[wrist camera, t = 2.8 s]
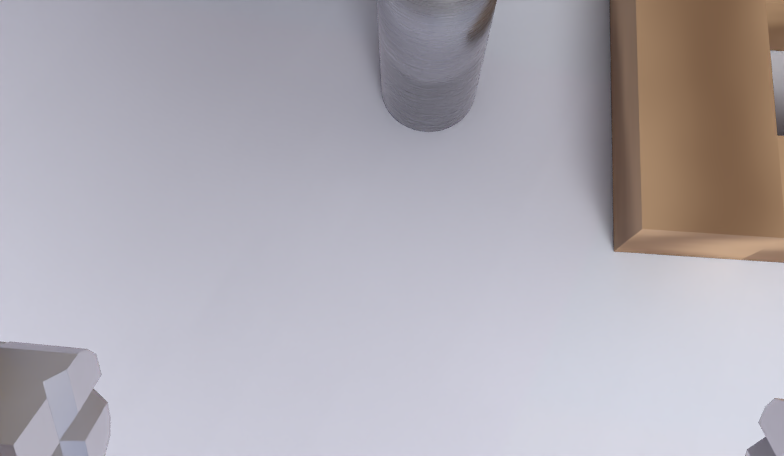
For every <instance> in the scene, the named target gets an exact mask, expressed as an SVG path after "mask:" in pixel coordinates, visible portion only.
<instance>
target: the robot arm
mask: <svg viewBox="0 0 784 456" xmlns="http://www.w3.org/2000/svg"><path fill="white" fill-rule="evenodd" d="M101 375H102V374H101V370H100V367H99V363H98V359H97V355H96V353H94V352H92V351H90V350H88V349H82V348H72V347H61V346H51V345H40V344H30V343H19V342H0V456H105V454H106V450H107V446H108V442H109V438H110V412H109V407H108V402H107V401H106V400H105V399H104V398H103V397H102V396H101V395H100V394H99V393H98V392H96V391H95V390H94V389H93V388H94V386H95V385H96V383H97V382H98V380H99V378H100V377H101ZM758 423H759V425H760V427H761V429H762V431H763V433H764V434H765V436H766V437H765V438H763V439H762V440H760V441H759V442H757V443H756V444H754V445H753V446H752V447H750V448H749V449H747V451H746V454H745V456H784V399H778V398H774V399H773V400H772V401H771V402H770V403H769V404H768V405H767V406H766V407H765V408H764V411H763V413H762V415H761V418H760V420H759V422H758Z"/></svg>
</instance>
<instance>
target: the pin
mask: <svg viewBox="0 0 784 456" xmlns="http://www.w3.org/2000/svg"><path fill="white" fill-rule="evenodd" d="M496 2H497V0H377V12H378V31H379V50H380V69H381V88H382V97H383V101H384V103H385V106H386V108H387V109H388V111H389V113H390V114H391V115H392V116H393V117H394V118H395V119H396V120H397V121H398V122H400V123H401V124H403V125H405V126H406V127H409V128H411V129H414V130H418V131H425V132H433V131H440V130H444V129H446V128H449V127H451V126H453V125H455V124H456V123H458V122H459V121H460V120H461V119H462V118H463V117H464V116H465V115H466V114H467V113H468V111H469V110H470V108H471V106H472V103H473V100H474V97H475V92H476V88H477V84H478V79H479V75H480V71H481V66H482V62H483V58H484V53H485V49H486V45H487V41H488V36H489V32H490V28H491V23H492V19H493V15H494V10H495V6H496Z"/></svg>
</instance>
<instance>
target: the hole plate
mask: <svg viewBox="0 0 784 456" xmlns="http://www.w3.org/2000/svg"><path fill="white" fill-rule="evenodd" d="M610 49H611V109H612V170H613V230H614V251H615V252H630V253H645V254H661V255H676V256H691V257H706V258H722V259H737V260H752V261H767V262H783V263H784V136H777V126H776V114H775V102H774V91H773V79H772V68H771V56H770V50H776V51H784V0H610Z"/></svg>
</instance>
